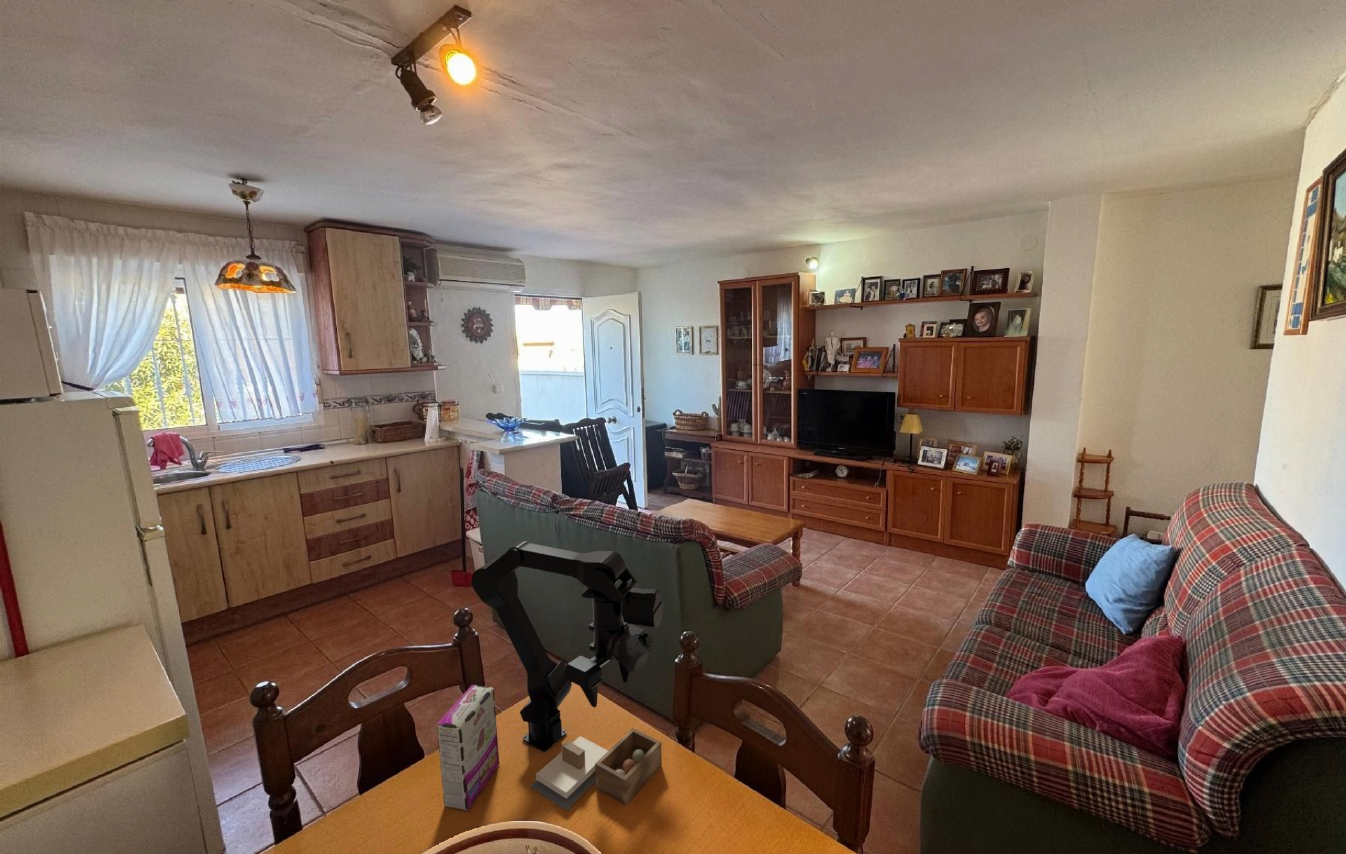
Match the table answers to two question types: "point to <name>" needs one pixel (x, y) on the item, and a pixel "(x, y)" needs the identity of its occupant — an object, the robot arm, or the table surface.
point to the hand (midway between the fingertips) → (610, 693)
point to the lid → (571, 766)
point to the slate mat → (560, 799)
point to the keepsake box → (628, 766)
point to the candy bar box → (468, 746)
